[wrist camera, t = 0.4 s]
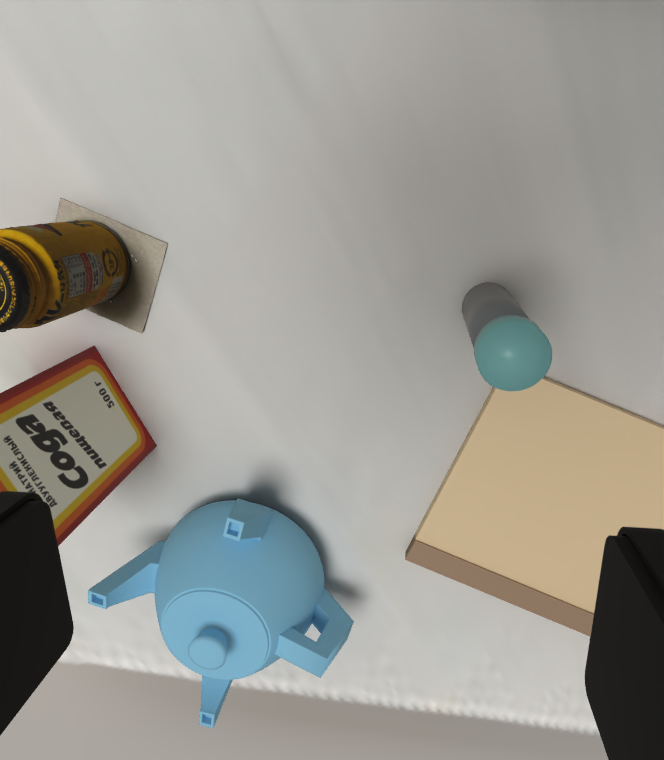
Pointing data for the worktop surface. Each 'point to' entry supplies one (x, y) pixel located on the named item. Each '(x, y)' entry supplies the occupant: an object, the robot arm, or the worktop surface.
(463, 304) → the marker
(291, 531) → the teapot
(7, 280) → the condiment
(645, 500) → the notepad
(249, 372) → the worktop surface
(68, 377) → the baking soda box
